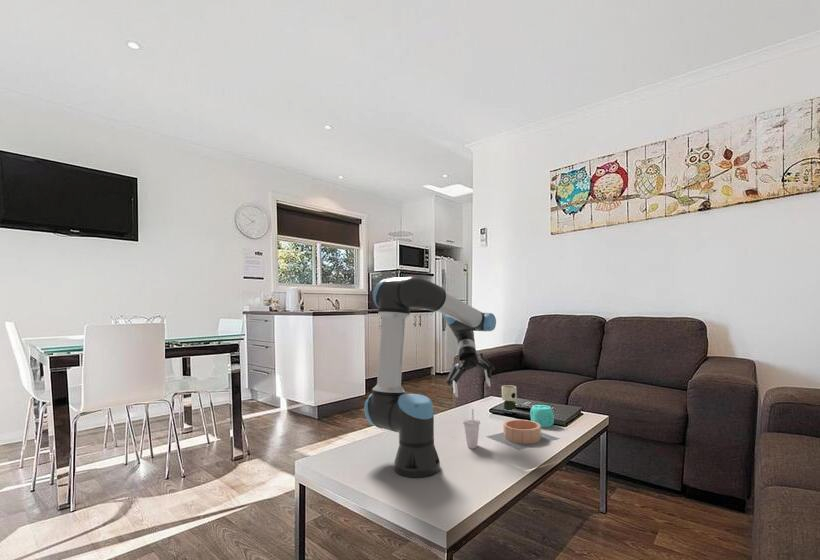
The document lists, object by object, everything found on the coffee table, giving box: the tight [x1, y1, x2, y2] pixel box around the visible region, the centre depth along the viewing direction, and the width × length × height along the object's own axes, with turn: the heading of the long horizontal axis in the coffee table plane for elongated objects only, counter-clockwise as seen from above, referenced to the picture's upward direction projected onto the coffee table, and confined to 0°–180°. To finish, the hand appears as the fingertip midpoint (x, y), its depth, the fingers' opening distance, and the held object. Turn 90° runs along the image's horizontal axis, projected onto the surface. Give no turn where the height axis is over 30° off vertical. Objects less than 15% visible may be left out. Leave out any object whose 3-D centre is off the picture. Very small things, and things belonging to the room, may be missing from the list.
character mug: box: [501, 384, 518, 410], centre depth 202 cm, size 11×7×13 cm, turn 143°
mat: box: [485, 431, 560, 451], centre depth 164 cm, size 22×18×1 cm
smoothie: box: [462, 408, 481, 449], centre depth 157 cm, size 6×6×14 cm
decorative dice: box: [529, 404, 555, 428], centre depth 181 cm, size 8×8×8 cm
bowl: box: [502, 419, 542, 444], centre depth 164 cm, size 14×14×5 cm
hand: (472, 389), depth 159 cm, fingers open, 13 cm apart
